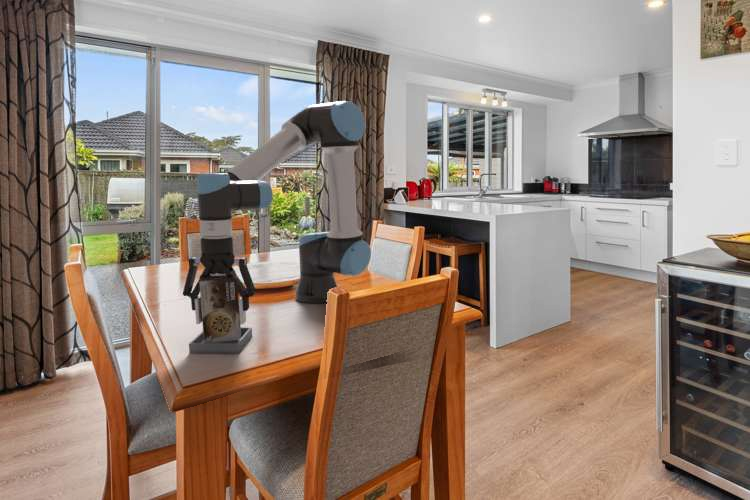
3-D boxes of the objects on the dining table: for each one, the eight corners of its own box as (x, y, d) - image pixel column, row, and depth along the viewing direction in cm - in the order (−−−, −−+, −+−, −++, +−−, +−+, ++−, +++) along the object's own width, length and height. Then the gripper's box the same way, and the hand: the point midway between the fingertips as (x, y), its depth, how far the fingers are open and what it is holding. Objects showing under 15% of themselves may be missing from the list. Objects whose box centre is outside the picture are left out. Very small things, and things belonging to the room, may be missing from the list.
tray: (207, 335, 124) (207, 327, 123) (252, 336, 124) (251, 327, 123) (189, 353, 112) (188, 343, 112) (238, 353, 112) (238, 344, 111)
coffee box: (239, 330, 122) (236, 271, 119) (241, 339, 116) (238, 277, 113) (203, 334, 119) (199, 274, 116) (203, 343, 113) (198, 280, 110)
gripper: (163, 238, 109) (170, 327, 113) (258, 239, 109) (262, 327, 113) (177, 234, 117) (183, 317, 121) (266, 234, 117) (269, 318, 120)
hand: (221, 322), depth 117 cm, fingers closed on coffee box, 10 cm apart
